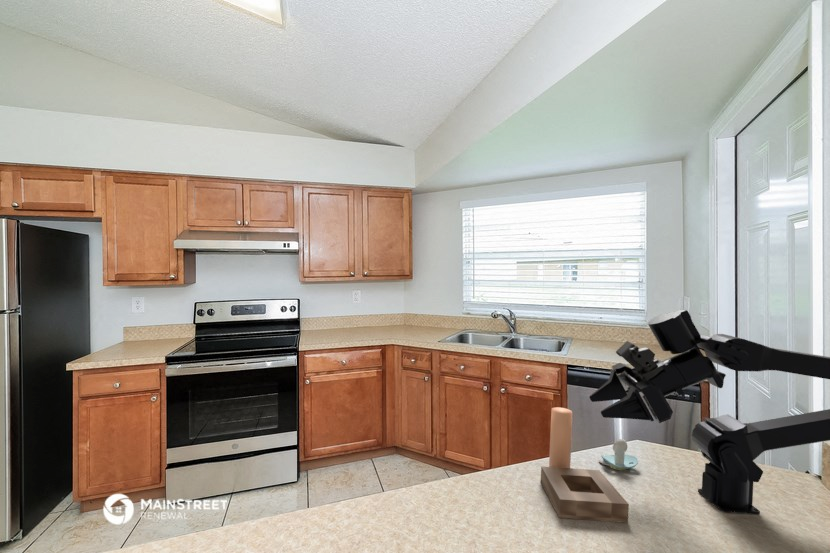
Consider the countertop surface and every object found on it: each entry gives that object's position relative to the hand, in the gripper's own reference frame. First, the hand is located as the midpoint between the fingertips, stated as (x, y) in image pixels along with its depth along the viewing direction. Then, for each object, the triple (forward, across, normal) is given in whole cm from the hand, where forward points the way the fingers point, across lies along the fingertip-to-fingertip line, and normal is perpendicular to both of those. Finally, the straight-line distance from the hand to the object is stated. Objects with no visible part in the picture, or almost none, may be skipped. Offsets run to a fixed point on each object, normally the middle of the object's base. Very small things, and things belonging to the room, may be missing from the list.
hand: (595, 406), depth 75 cm
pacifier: (+2, -10, +17) cm, 19 cm away
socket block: (+10, +7, +11) cm, 17 cm away
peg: (+12, -3, +10) cm, 16 cm away
